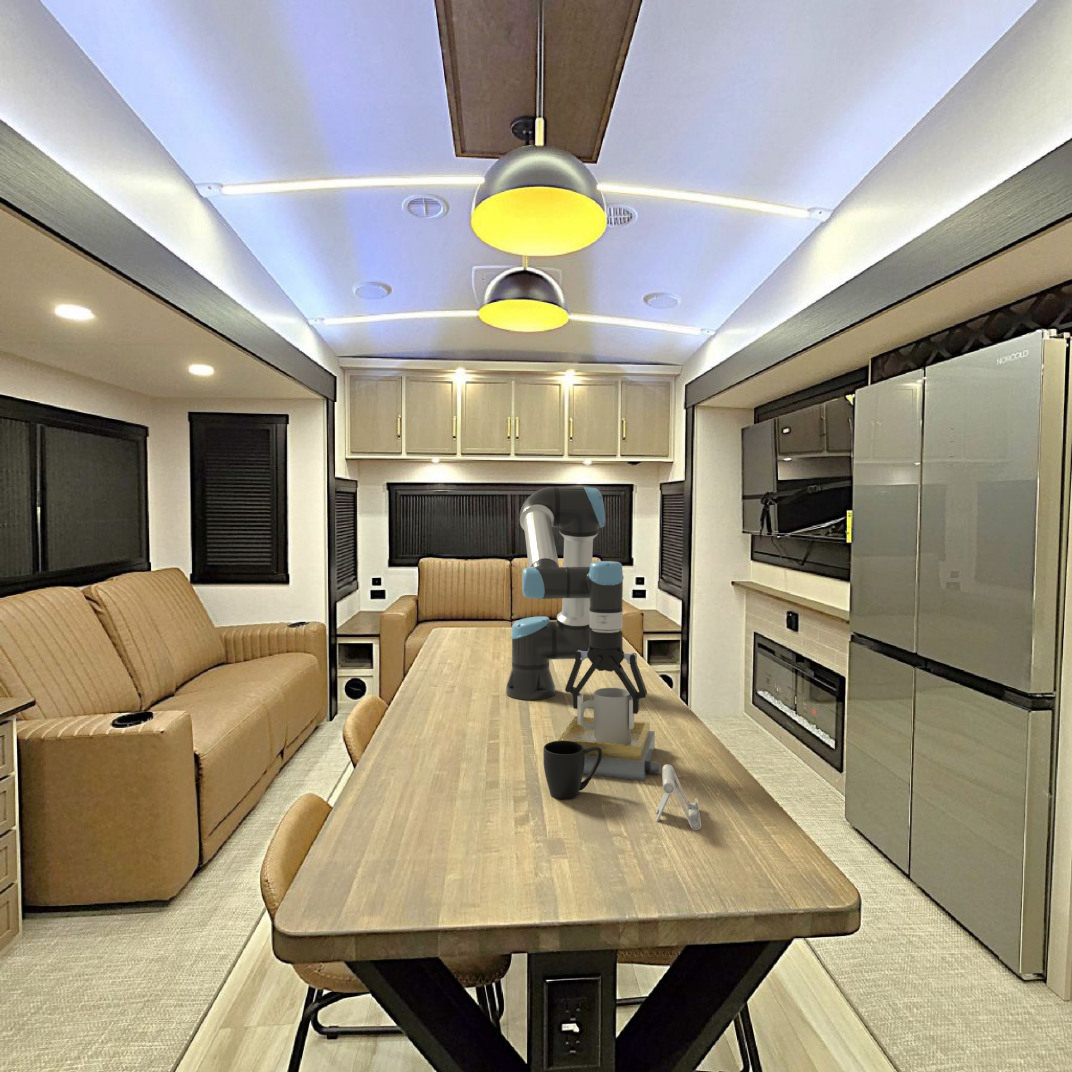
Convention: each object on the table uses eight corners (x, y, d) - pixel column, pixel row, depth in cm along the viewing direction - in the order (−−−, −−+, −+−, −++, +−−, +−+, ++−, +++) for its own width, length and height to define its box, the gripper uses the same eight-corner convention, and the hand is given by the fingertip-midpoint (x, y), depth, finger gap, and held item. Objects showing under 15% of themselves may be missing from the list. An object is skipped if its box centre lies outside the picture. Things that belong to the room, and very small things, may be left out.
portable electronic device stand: (701, 831, 118) (701, 784, 118) (656, 827, 120) (656, 781, 119) (698, 809, 127) (698, 766, 126) (656, 806, 128) (656, 763, 128)
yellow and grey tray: (552, 770, 145) (552, 741, 145) (572, 739, 164) (572, 714, 164) (657, 782, 139) (657, 751, 139) (666, 749, 158) (666, 722, 158)
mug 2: (624, 732, 157) (624, 686, 157) (636, 745, 149) (636, 696, 149) (575, 735, 155) (575, 689, 155) (584, 748, 147) (584, 699, 146)
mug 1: (607, 799, 131) (608, 751, 130) (548, 804, 129) (548, 756, 128) (596, 782, 139) (596, 737, 139) (539, 787, 137) (539, 741, 136)
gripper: (551, 629, 151) (551, 725, 151) (656, 635, 144) (656, 735, 145) (559, 624, 158) (559, 715, 159) (660, 629, 151) (659, 724, 152)
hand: (605, 725), depth 152 cm, fingers closed on mug 2, 11 cm apart
